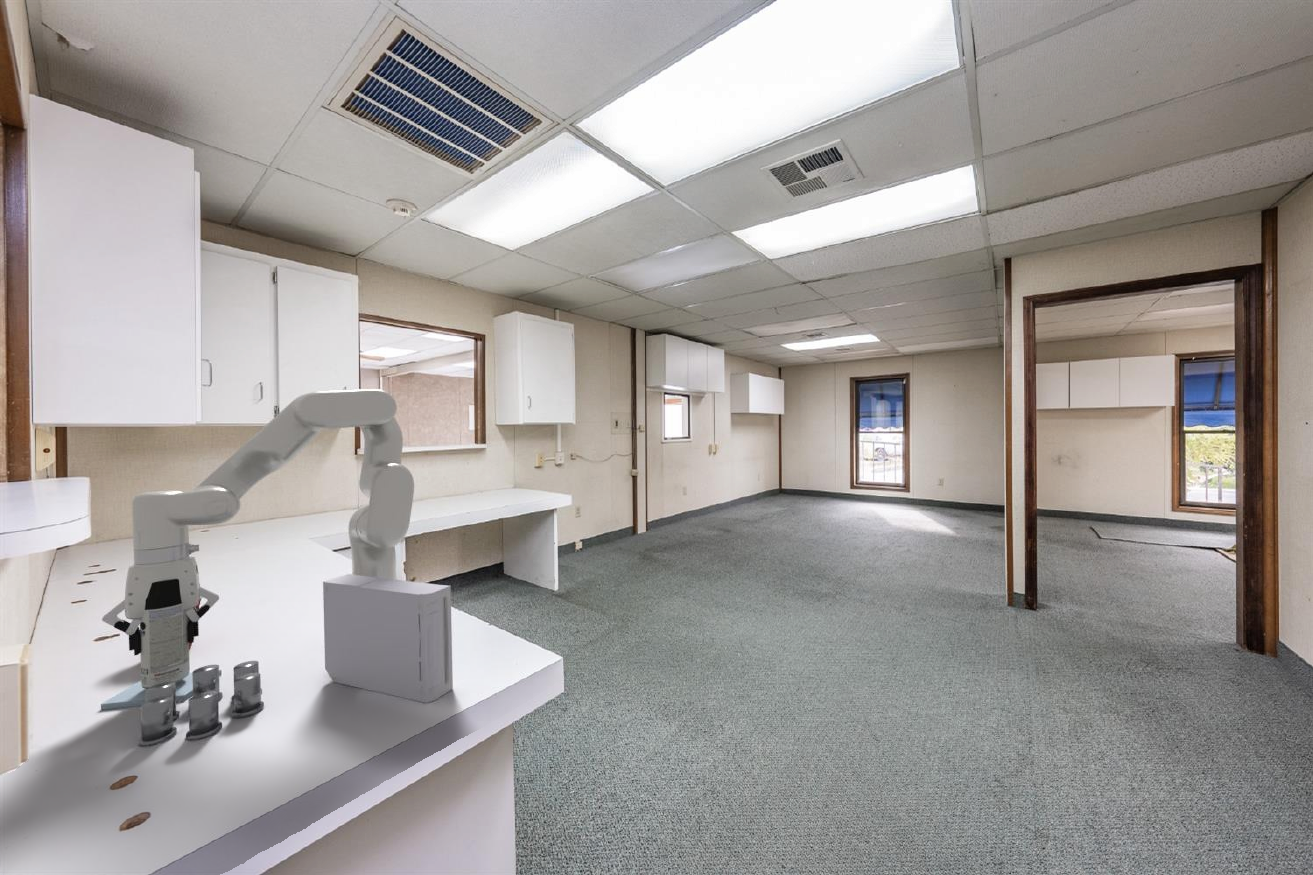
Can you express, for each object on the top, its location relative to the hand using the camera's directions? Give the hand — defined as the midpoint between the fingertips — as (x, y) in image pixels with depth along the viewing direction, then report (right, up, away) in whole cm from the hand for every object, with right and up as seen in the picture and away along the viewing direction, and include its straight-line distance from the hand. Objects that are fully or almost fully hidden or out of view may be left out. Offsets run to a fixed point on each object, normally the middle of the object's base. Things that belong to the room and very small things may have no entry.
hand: (165, 645), depth 94 cm
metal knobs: (+16, -8, -9) cm, 20 cm away
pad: (0, -9, 0) cm, 9 cm away
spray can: (0, -7, 0) cm, 7 cm away
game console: (+43, -8, +1) cm, 44 cm away
